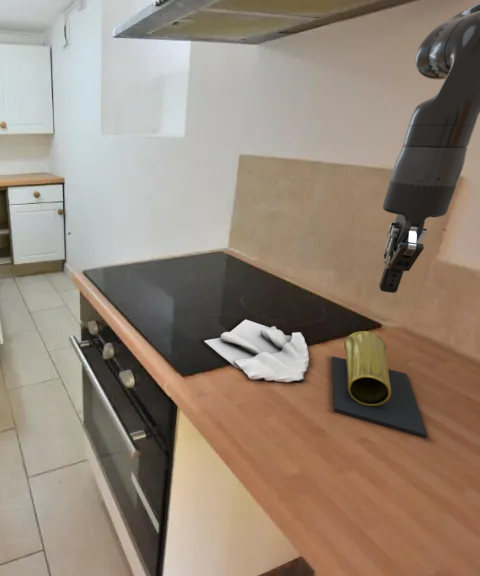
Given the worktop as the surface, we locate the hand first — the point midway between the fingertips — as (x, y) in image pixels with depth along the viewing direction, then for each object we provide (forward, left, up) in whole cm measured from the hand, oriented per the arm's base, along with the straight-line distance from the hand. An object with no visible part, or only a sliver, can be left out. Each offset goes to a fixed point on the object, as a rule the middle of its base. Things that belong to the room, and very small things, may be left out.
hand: (387, 290), depth 61 cm
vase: (0, -2, -12) cm, 12 cm away
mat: (-1, +7, -15) cm, 17 cm away
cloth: (+16, +1, -15) cm, 22 cm away
